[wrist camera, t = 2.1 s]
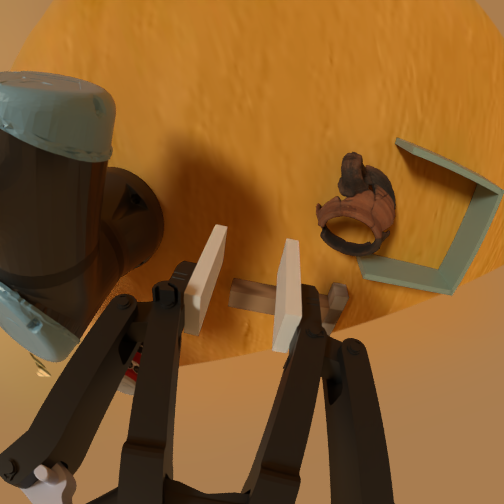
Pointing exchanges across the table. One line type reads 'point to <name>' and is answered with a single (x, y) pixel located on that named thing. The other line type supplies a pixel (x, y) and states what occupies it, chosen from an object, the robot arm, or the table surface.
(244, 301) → the hammer
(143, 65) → the table surface
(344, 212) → the pottery mug
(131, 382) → the canned food
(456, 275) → the green u-shaped frame
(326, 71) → the table surface
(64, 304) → the robot arm
